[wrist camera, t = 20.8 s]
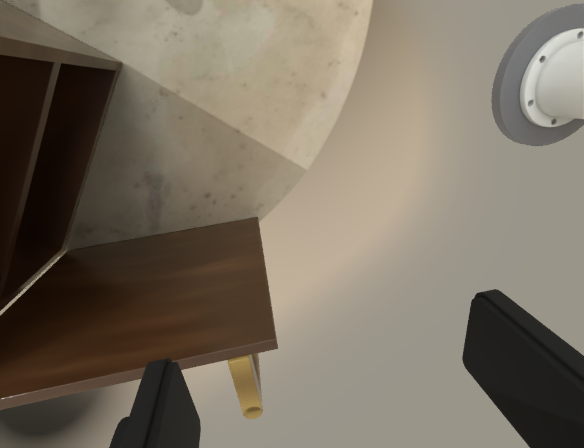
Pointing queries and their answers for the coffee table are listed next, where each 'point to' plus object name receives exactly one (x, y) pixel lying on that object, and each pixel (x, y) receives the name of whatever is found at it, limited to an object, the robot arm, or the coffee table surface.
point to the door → (142, 314)
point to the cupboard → (44, 139)
